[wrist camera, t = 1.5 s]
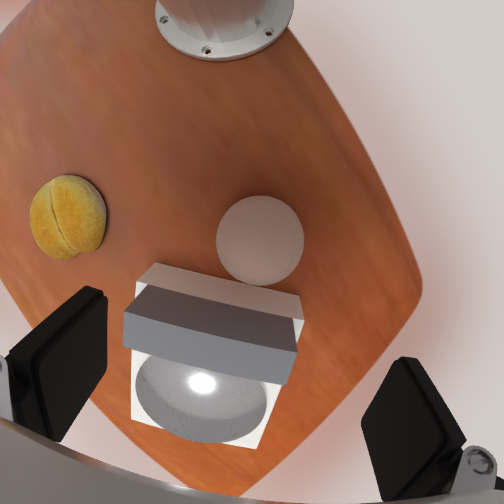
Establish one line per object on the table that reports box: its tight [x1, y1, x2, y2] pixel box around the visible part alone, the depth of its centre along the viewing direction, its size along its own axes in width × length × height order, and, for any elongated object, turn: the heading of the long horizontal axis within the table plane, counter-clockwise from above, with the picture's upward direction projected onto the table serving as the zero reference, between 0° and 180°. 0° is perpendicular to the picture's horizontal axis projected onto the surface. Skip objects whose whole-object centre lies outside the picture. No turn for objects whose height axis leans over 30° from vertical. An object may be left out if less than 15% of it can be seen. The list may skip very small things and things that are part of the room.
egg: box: [216, 195, 304, 286], centre depth 24 cm, size 7×7×9 cm
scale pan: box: [135, 355, 267, 443], centre depth 28 cm, size 13×13×1 cm
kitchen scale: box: [123, 262, 305, 449], centre depth 28 cm, size 17×14×10 cm
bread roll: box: [30, 175, 106, 260], centre depth 27 cm, size 8×9×4 cm
